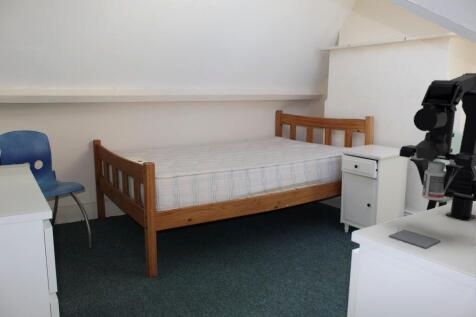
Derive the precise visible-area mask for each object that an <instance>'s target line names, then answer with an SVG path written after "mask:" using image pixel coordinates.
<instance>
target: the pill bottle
mask: <svg viewBox="0 0 476 317" xmlns="http://www.w3.org/2000/svg"><path fill="white" fill-rule="evenodd" d="M445 165H446V163H445V162H442V161H436V160H429V164H428V169H427V170H426V171H425V173H424V182H423V185H422V191H421V192H422V194H421V196H422V198H424V199H425V200H430V201H443V200H444V199H445V195H446V190H444V189H443V187H444V179H445V174H446V167H445ZM444 169H445V170H444Z"/></svg>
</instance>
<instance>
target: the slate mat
mask: <svg viewBox="0 0 476 317" xmlns="http://www.w3.org/2000/svg"><path fill="white" fill-rule="evenodd" d="M388 238H391V239H393V240H397V241H399V242H403V243H407V244H410V245H412V246H416V247H419V248H421V249H425V250H427V249H429V248H431V247H433V246H435V245H438V244H439V243H441V241H442V240H441V239H438V238H434V237H432V236H428V235H424V234H421V233H418V232H415V231H411V230H407V229H406V228H405V229H402V230H401V229H400V230H399V231H397V232H394V233H392V234H389V235H388Z"/></svg>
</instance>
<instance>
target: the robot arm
mask: <svg viewBox="0 0 476 317" xmlns="http://www.w3.org/2000/svg"><path fill="white" fill-rule="evenodd" d="M460 102H461V108H462V111H463V113H464V115H465V120H464V127H463V131H462V137H461V142H460V145H459V146H460V148H459V153H456V154H455V153H453V151H454V150H453V148H452V140H453V138H454V137H455V135H456V134H455V132H454V126H455V125H454V124H455V115H456V112H457V110H458V108H457V106H459V104H460ZM420 103H421V104H420V105H421V107H422V108H420V109H418V110H417V111H416V112H415V114H414V116H413V124H414V126H415V127H416V128H417V130H419V131H422V132H425V134H424V139H423V140H421V141H420V142H418V143H417V144H416V145H413V144H409V145H402V146H401V147H400V149H399V153H398V154H399V157H403V158H409V161H410V162H413V163H414V165H415V166H416V168H417V169H416V170H417V171H418V175H419V179H420V183H421V186H423V182H424V173H425V171H426V170H427V169H429V167H428V164H429V162H430V161H436V160H442V161H443V160H444V161H449V163H448V164H445V172H446V174H445V179H444V187H443V189H444V190H445V195H446V196H450V197H451V205H450V206H451V207H450V211H449V212H447V213H445V216H447V217H451V218H455V219H459V220H464V221H470V220H472V219H474V218H476V214H472V213H473V208H474V207H473V206H474V202H476V72H473V73H472V72H470V73H469V72H466V73H463V74H462V75H460V76H457V77H455V78H452V79H445V80H444V79H442V80H441V79H433V81H431V82H430V84H429V85H428V87H427V89H426V92H425V94H424V97H423V98H422V100H421V102H420Z"/></svg>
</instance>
